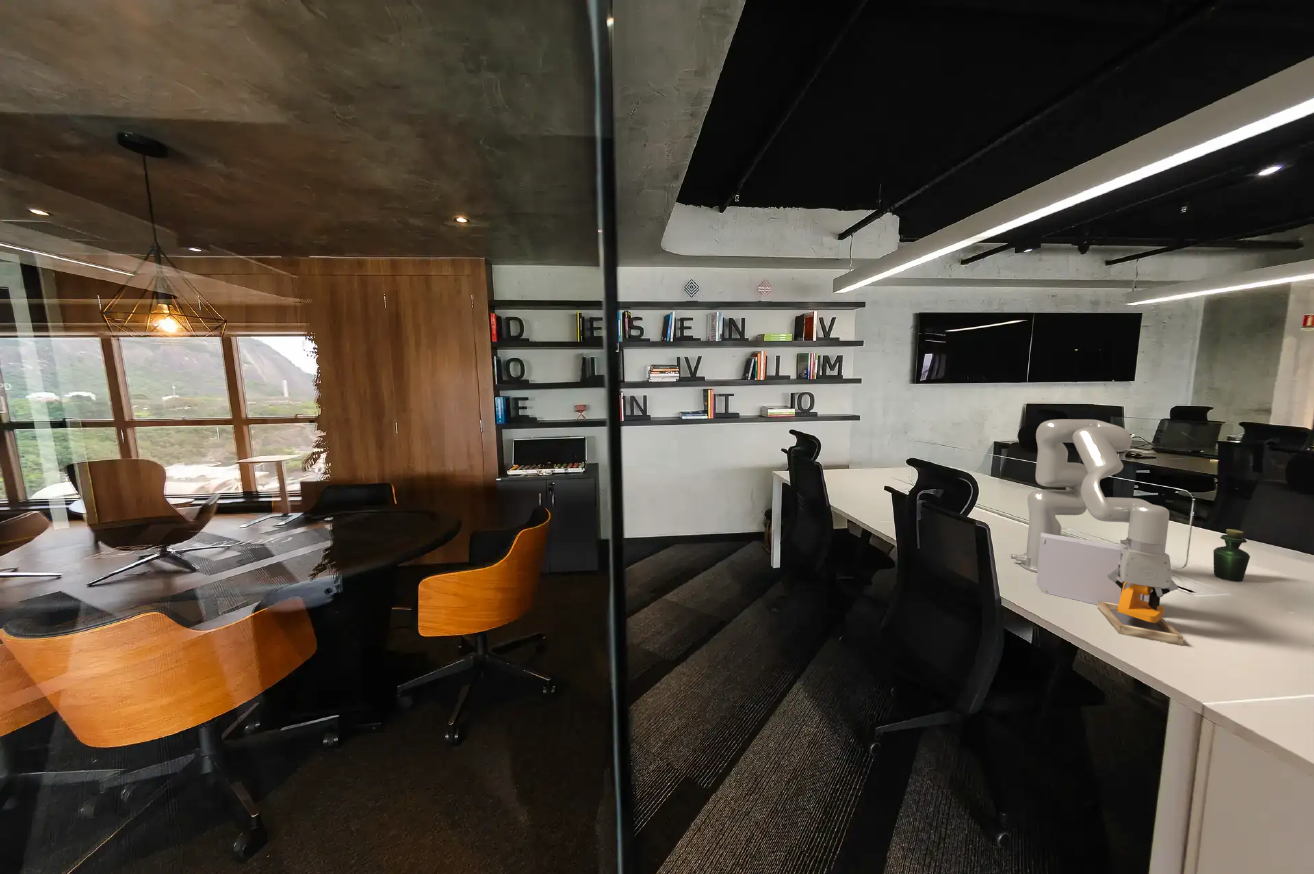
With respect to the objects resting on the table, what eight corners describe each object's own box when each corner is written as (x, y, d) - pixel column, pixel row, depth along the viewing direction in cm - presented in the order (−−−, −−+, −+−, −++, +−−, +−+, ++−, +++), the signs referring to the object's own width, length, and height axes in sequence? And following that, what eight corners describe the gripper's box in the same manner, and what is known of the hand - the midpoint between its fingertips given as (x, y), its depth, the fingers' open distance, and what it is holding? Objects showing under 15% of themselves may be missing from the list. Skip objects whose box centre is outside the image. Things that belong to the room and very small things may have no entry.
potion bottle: (1227, 573, 163) (1233, 527, 161) (1254, 583, 155) (1261, 534, 153) (1203, 573, 164) (1209, 527, 162) (1228, 582, 156) (1235, 534, 154)
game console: (1152, 618, 134) (1159, 556, 131) (1035, 591, 152) (1040, 536, 150) (1149, 610, 138) (1156, 550, 136) (1036, 585, 156) (1040, 532, 154)
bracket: (1152, 625, 123) (1158, 586, 122) (1117, 614, 130) (1122, 576, 128) (1164, 615, 129) (1169, 577, 127) (1129, 604, 135) (1134, 568, 133)
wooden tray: (1119, 633, 126) (1119, 625, 125) (1097, 608, 140) (1098, 600, 140) (1182, 645, 119) (1183, 637, 119) (1153, 617, 134) (1154, 610, 133)
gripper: (1110, 545, 128) (1104, 604, 130) (1196, 555, 119) (1188, 618, 121) (1100, 538, 134) (1095, 593, 136) (1181, 547, 126) (1174, 606, 128)
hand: (1139, 604), depth 129 cm, fingers closed on bracket, 4 cm apart
